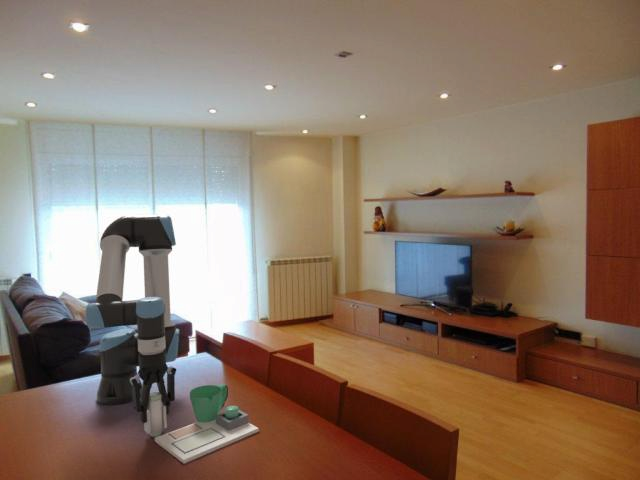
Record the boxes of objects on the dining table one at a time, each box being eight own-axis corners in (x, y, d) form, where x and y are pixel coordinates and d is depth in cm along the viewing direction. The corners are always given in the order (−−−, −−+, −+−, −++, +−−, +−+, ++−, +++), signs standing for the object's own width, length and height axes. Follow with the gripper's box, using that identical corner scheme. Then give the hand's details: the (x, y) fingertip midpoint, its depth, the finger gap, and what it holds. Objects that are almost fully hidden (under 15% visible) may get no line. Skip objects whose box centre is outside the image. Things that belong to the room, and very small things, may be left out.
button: (222, 418, 140) (222, 408, 140) (233, 413, 143) (233, 404, 143) (230, 422, 138) (229, 412, 137) (241, 417, 140) (241, 408, 140)
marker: (146, 434, 136) (144, 395, 135) (159, 430, 139) (157, 391, 138) (152, 439, 133) (150, 398, 133) (165, 434, 136) (163, 394, 135)
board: (154, 441, 132) (154, 429, 132) (226, 414, 149) (226, 403, 149) (183, 463, 120) (183, 450, 120) (258, 431, 137) (258, 419, 137)
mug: (208, 432, 138) (207, 399, 137) (183, 426, 142) (182, 394, 142) (238, 412, 151) (237, 382, 150) (214, 407, 155) (213, 378, 155)
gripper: (127, 361, 126) (131, 444, 127) (185, 347, 138) (188, 423, 139) (116, 355, 131) (121, 435, 133) (173, 342, 143) (176, 415, 145)
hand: (155, 429), depth 136 cm, fingers open, 4 cm apart
